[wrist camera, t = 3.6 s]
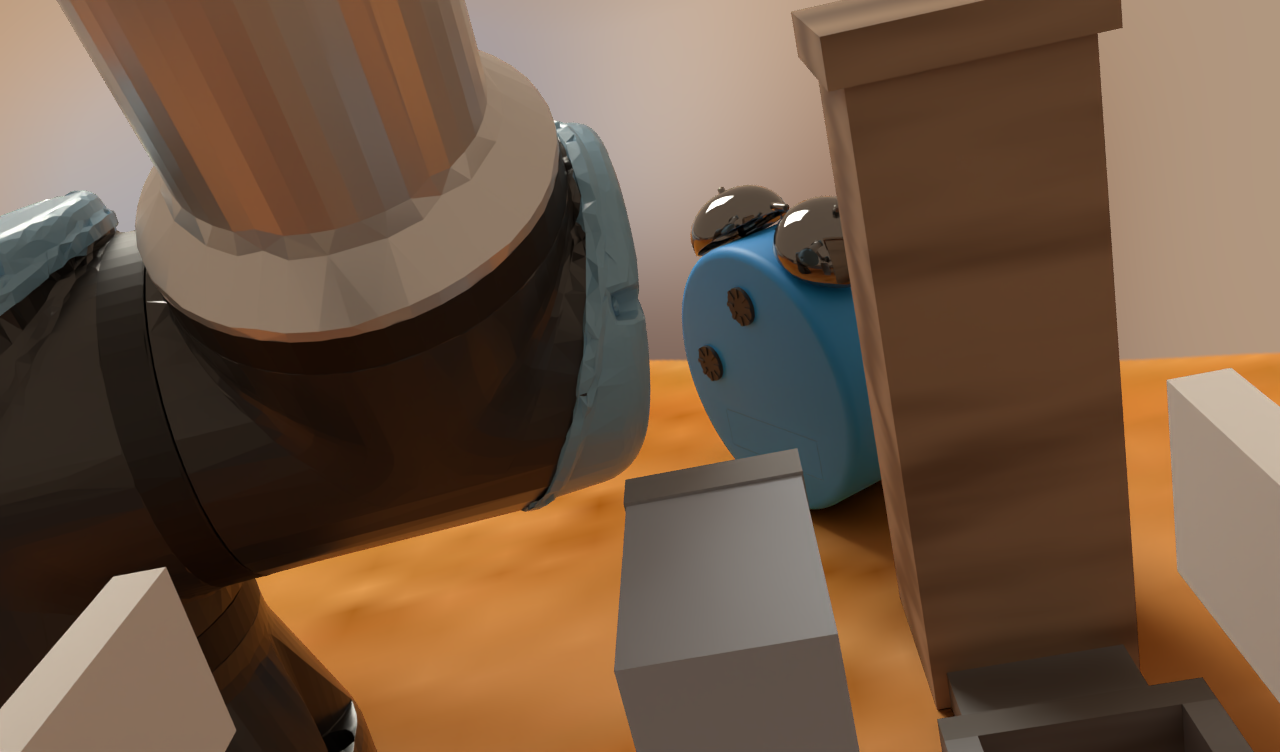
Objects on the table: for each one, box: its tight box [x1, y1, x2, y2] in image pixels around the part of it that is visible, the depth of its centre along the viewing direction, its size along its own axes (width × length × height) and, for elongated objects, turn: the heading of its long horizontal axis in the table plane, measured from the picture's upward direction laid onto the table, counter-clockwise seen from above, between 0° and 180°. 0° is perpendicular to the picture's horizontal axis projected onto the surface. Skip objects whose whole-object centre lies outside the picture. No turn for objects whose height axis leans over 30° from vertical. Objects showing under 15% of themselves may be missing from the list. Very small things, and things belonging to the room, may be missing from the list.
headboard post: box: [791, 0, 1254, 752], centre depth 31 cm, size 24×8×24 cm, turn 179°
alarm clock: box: [682, 185, 881, 509], centre depth 54 cm, size 13×6×15 cm, turn 31°
